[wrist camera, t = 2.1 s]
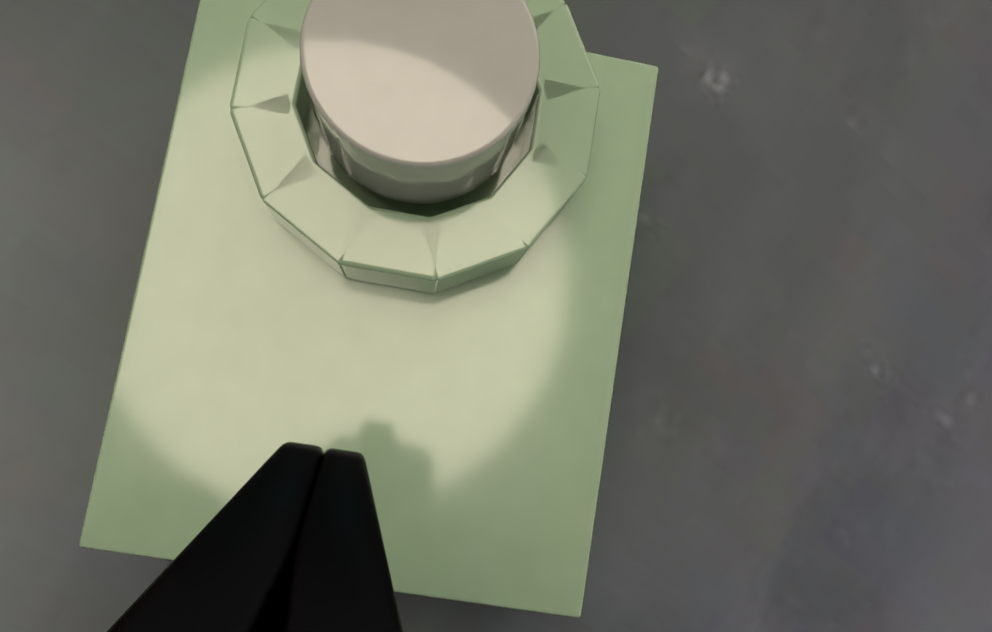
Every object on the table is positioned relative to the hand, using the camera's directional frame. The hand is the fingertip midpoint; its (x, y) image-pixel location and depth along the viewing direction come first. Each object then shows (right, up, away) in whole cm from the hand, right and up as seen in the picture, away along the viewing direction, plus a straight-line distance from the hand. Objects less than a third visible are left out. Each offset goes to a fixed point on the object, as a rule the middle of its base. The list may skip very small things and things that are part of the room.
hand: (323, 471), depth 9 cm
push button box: (-1, +2, +13) cm, 13 cm away
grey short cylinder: (0, +6, +7) cm, 9 cm away
